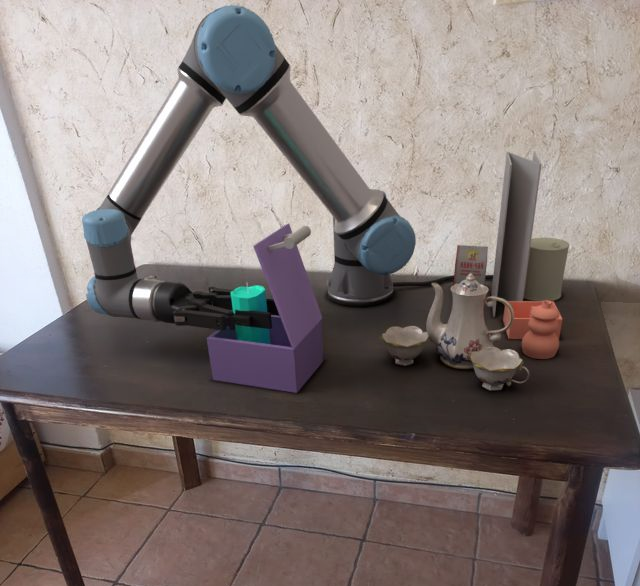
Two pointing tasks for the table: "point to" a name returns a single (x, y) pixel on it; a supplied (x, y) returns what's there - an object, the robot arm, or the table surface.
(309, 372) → the box
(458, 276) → the small printed carton
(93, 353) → the table surface
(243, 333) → the candle
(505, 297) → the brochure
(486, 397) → the table surface
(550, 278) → the can
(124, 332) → the table surface
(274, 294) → the lid
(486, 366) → the chinaware
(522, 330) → the pottery
